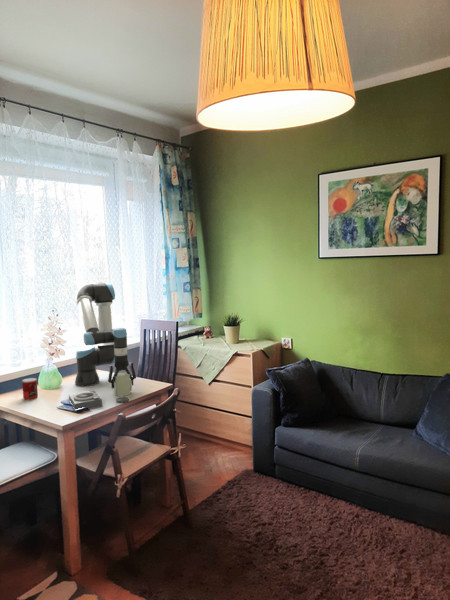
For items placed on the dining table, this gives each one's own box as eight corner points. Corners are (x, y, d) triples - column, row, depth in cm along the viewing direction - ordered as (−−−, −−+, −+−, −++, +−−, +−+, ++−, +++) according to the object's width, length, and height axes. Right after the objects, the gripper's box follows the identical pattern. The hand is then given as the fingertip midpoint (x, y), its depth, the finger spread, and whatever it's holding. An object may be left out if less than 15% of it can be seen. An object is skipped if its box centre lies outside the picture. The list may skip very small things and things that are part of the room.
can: (126, 396, 248) (125, 376, 247) (112, 395, 250) (111, 375, 249) (133, 391, 257) (132, 372, 256) (119, 391, 259) (118, 371, 258)
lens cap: (114, 401, 241) (114, 398, 241) (126, 398, 244) (126, 396, 244) (119, 404, 235) (118, 402, 235) (131, 402, 239) (131, 399, 238)
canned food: (31, 400, 245) (29, 381, 244) (20, 399, 248) (18, 380, 247) (41, 396, 253) (39, 378, 252) (30, 395, 255) (29, 377, 254)
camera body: (69, 402, 241) (68, 393, 240) (94, 397, 248) (94, 389, 247) (75, 411, 225) (74, 401, 225) (102, 406, 232) (101, 397, 232)
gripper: (104, 358, 243) (106, 396, 245) (140, 353, 254) (142, 390, 256) (100, 355, 250) (102, 393, 252) (136, 351, 260) (138, 387, 262)
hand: (122, 392), depth 254 cm, fingers closed on can, 9 cm apart
